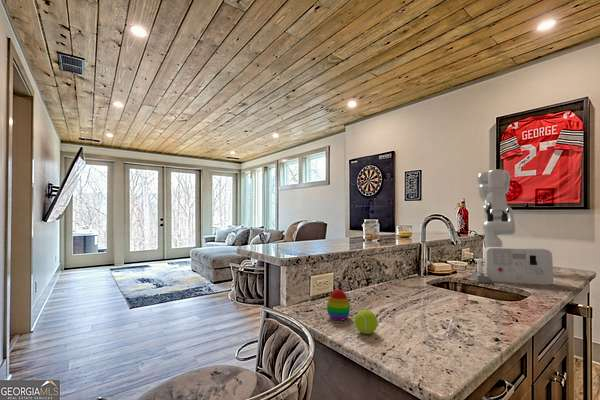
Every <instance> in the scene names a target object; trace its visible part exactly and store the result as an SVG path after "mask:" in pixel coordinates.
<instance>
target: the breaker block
mask: <svg viewBox="0 0 600 400" xmlns="http://www.w3.org/2000/svg"><path fill="white" fill-rule="evenodd" d="M471 277H472V278H473V279H474V280H475V281H476V282H477V283H482V284H483V283H484V284H489V283H490V280H489V276H488V275H486V274H485V271H483V270H482V276H480V275H479V274H478V272H477V269H476V270H475V269H474V270H473V269H472V270H471Z"/></svg>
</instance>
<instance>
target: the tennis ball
mask: <svg viewBox="0 0 600 400" xmlns="http://www.w3.org/2000/svg"><path fill="white" fill-rule="evenodd" d="M354 326H355V328H356V329H357V330H358V331H359V332H360V333H362V334H365V335H370V334H373V333H374V332H375V331H376V330H377V327H378V319H377V316H376V315H375V313H374V312H373V311H371V310H368V309H362V310H359V311H358V312H357V313H356V315H355V316H354Z"/></svg>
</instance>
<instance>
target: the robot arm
mask: <svg viewBox="0 0 600 400" xmlns="http://www.w3.org/2000/svg"><path fill="white" fill-rule="evenodd" d="M476 179H477V180H476V181H477V183H478V194H479V197H480V200H481V201H482V203H483V213H484V218H485V219H486V221H484V222H483V223H482V230H483V234H484V235H483V236H484V250H485V249H486V248H487V247H503V240H502V239H501V238H500V237H499V236H500V235H501V236H514V234H515V233H516V223H515V215H514V211H513V209H512V207H511V206H509V205H508V203H507V196H506V194H508V192H509V191H510V190H509V189H510V183H511V182H510V181H511V175H510V172H509V171H508V170H504V169H500V168H499V169H490V170H489V171H483V172H478V173H477V176H476ZM482 267H483V268H484V269H485V264H484V265H482Z"/></svg>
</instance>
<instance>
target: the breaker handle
mask: <svg viewBox="0 0 600 400" xmlns="http://www.w3.org/2000/svg"><path fill="white" fill-rule="evenodd" d="M475 261H476V266H477V267H476V268H477V269H476V271H477V272H478V274H479V275H480V276H482V271H483V270H482V267H483V265H482V263H483V259H481V258H480V259H479V258H476V260H475Z"/></svg>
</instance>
